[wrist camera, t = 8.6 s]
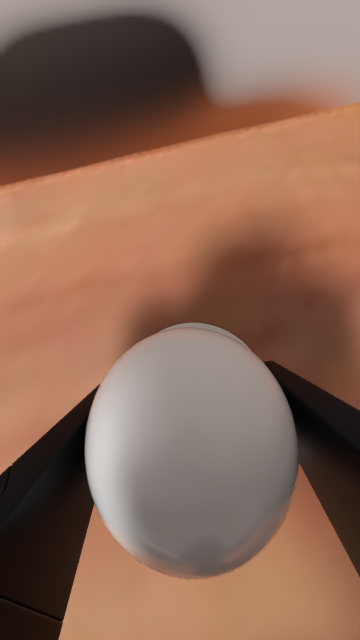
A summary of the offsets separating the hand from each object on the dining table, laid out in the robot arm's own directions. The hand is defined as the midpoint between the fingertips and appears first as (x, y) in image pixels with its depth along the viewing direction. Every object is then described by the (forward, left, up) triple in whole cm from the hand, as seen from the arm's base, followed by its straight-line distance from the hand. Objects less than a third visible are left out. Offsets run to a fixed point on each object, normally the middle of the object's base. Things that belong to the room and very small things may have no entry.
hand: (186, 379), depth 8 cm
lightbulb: (-1, 0, -7) cm, 7 cm away
